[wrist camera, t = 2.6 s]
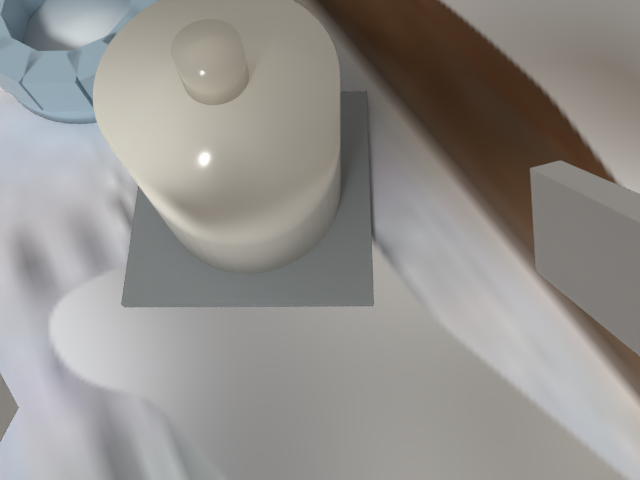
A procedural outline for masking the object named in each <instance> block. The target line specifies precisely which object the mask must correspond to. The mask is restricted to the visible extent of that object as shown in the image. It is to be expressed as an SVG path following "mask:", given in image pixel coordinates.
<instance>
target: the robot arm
mask: <svg viewBox="0 0 640 480" xmlns="http://www.w3.org/2000/svg"><path fill="white" fill-rule="evenodd" d="M530 179H531V196H532V213H533V230H534V247H535V264H536V272H538V273H539V274H540V275H541V276H543V277H544V278H545V279H546V280H547V281H549V282H550V283H551V284H552V285H553V286H555V287H556V288H557V289H558V290H560V291H561V292H562V293H563V294H564V295H566V296H567V297H568V298H569V299H571V300H572V301H573V302H574V303H575V304H577V305H578V306H579V307H580V308H581V309H583V310H584V311H585V312H586V313H588V314H589V315H590V316H591V317H592V318H594V319H595V320H596V321H597V322H599V323H600V324H601V325H602V326H603V327H605V328H606V329H607V330H608V331H610V332H611V333H612V334H613V335H614V336H616V337H617V338H618V339H619V340H620V341H622V342H623V343H624V344H625V345H627V346H628V347H629V348H630V349H631V350H633V351H634V352H635V353H636V354H638V355H639V356H640V194H638V193H636V192H633V191H631V190H629V189H626V188H624V187H622V186H620V185H617V184H615V183H613V182H610V181H608V180H605V179H603V178H601V177H598V176H596V175H594V174H591V173H589V172H587V171H584V170H582V169H580V168H577V167H575V166H573V165H570V164H568V163H566V162H563V161H561V160H560V161H556V162H552V163H548V164H544V165H540V166H536V167H532V168H530ZM18 408H19V407H18V405H17V403H16V401H15V400H14V398H13V396H12V394H11V392H10V390H9V388H8V386H7V385H6V383H5V381H4V379H3V377H2V375H1V373H0V441H1V440H2V438H3V436H4V434H5V432H6V430H7V428H8V427H9V425H10V423H11V421H12V419H13V417H14V415H15V414H16V412H17V410H18Z"/></svg>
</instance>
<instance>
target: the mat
mask: <svg viewBox="0 0 640 480" xmlns="http://www.w3.org/2000/svg"><path fill="white" fill-rule="evenodd" d="M372 271H373V270H372V237H371V207H370V176H369V145H368V114H367V92H340V201H339V206H338V211H337V213H336V216H335V219H334V221H333V223H332V225H331V227H330V229H329V230H328V232H327V233H326V235H325V236H324V237H323V239H322V240H321V241H320V242H319V243H318V244H317V245H316V246H315V247H314V248H313V249H312V250H311V251H310V252H308V253H307V254H306V255H305V256H303V257H302V258H300V259H298V260H297V261H295V262H293V263H291V264H289V265H287V266H285V267H282V268H279V269H276V270H273V271H268V272H263V273H252V274H243V273H233V272H227V271H223V270H220V269H217V268H214V267H212V266H209V265H207V264H205V263H203V262H202V261H200V260H199V259H197V258H196V257H194V256H193V255H192V254H191V253H190V252H188V251H187V250H186V249H185V248H184V247H183V245H182V244H181V243H180V242H179V241H178V239H177V238H176V236H175V235H174V234H173V232H172V231H171V230H170V228H169V227H168V225H167V224H166V223H165V221H164V220H163V219H162V217H161V216H160V214H159V213H158V212H157V210H156V209H155V208H154V206H153V205H152V204H151V202H150V201H149V199H148V198H147V197H146V195H145V194H144V193H143V191H142V190H141V188H140V187H139V186H138V191H137V198H136V205H135V212H134V219H133V226H132V233H131V240H130V247H129V254H128V261H127V268H126V275H125V282H124V289H123V296H122V303H121V304H122V305H123V306H124V307H272V306H273V307H284V306H285V307H286V306H287V307H288V306H373V304H374V300H373V272H372Z"/></svg>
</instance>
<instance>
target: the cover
mask: <svg viewBox="0 0 640 480" xmlns="http://www.w3.org/2000/svg"><path fill="white" fill-rule="evenodd" d="M93 108H94V112H95V117H96V121H97V123H98V126H99V128H100V131H101V133H102V135H103V136H104V138H105V140H106V141H107V143H108V145H109V146H110V147H111V149H112V150H113V151H114V153H115V154H116V156H117V157H118V158H119V160H120V161H121V162H122V164H123V165H124V166H125V168H126V169H127V171H128V172H129V173H130V175H131V176H132V177H133V179H134V180H135V182H136V183H137V184H138V186H139V187H140V188H141V190H142V191H143V193H144V194H145V195H146V197H147V198H148V199H149V201H150V202H151V204H152V205H153V206H154V208H155V209H156V210H157V212H158V213H159V214H160V216H161V217H162V219H163V220H164V221H165V223H166V224H167V225H168V227H169V228H170V230H171V231H172V232H173V234H174V235H175V236H176V238H177V239H178V241H179V242H180V243H181V244H182V245H183V247H184V248H185V249H186V250H187V251H188V252H190V253H191V254H192V255H193V256H194V257H196V258H197V259H199V260H200V261H202V262H203V263H205V264H207V265H209V266H212V267H214V268H217V269H220V270H223V271H227V272H233V273H243V274H252V273H263V272H268V271H273V270H276V269H279V268H282V267H285V266H287V265H289V264H291V263H293V262H295V261H297V260H298V259H300V258H302V257H303V256H305V255H306V254H307V253H308V252H310V251H311V250H312V249H313V248H314V247H315V246H316V245H317V244H318V243H319V242H320V241H321V240H322V239H323V237H324V236H325V235H326V233H327V232H328V230H329V229H330V227H331V225H332V223H333V221H334V219H335V216H336V213H337V211H338V206H339V201H340V67H339V60H338V56H337V52H336V49H335V46H334V44H333V42H332V40H331V37H330V36H329V34H328V33H327V31H326V29H325V28H324V26H323V25H322V24H321V23H320V22H319V21H318V19H317V18H316V17H315V16H314V15H313V14H311V13H310V12H309V11H308V10H307V9H306V8H304V7H303V6H301V5H300V4H298V3H297V2H295V1H294V0H160V1H158V2H156V3H154V4H152V5H150V6H149V7H147V8H146V9H144V10H142V11H141V12H140V13H138V14H137V15H136V16H135V17H133V18H132V19H131V20H130V21H129V22H128V23H127V24H126V25H125V26H124V27H123V28H122V29H121V30H120V31H119V32H118V33H117V34H116V36H115V37H114V38H113V39H112V41H111V42H110V43H109V45H108V47H107V48H106V50H105V52H104V53H103V55H102V58H101V60H100V62H99V65H98V67H97V71H96V75H95V78H94V85H93Z"/></svg>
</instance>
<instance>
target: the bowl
mask: <svg viewBox="0 0 640 480" xmlns="http://www.w3.org/2000/svg"><path fill="white" fill-rule="evenodd" d="M158 1H160V0H0V86H1V87H2V88H3V89H4V90H5V91H6V92H8V93H10V94H12V95H13V96H14V97H15V98H16V99H17V100H18V101H19V102H20V103H21V104H22V105H23V106H24V107H25V108H27V109H28V110H30V111H31V112H33V113H34V114H36V115H39V116H41V117H43V118H46V119H49V120H52V121H56V122H62V123H70V124H86V123H95V122H97V121H96V117H95V112H94V108H93V85H94V78H95V75H96V71H97V67H98V65H99V62H100V60H101V58H102V55H103V53H104V52H105V50H106V48H107V47H108V45H109V43H110V42H111V41H112V39H113V38H114V37H115V36H116V34H117V33H118V32H119V31H120V30H121V29H122V28H123V27H124V26H125V25H126V24H127V23H128V22H129V21H130V20H131V19H132V18H133V17H135V16H136V15H137V14H138V13H140V12H141V11H142V10H144V9H146V8H147V7H149V6H150V5H152V4H154V3H156V2H158Z"/></svg>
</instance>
